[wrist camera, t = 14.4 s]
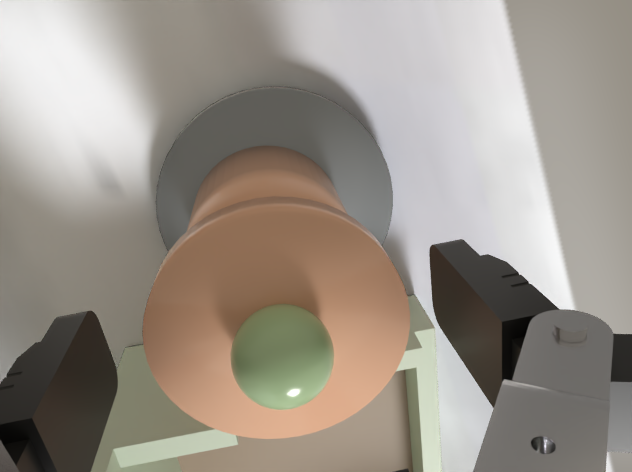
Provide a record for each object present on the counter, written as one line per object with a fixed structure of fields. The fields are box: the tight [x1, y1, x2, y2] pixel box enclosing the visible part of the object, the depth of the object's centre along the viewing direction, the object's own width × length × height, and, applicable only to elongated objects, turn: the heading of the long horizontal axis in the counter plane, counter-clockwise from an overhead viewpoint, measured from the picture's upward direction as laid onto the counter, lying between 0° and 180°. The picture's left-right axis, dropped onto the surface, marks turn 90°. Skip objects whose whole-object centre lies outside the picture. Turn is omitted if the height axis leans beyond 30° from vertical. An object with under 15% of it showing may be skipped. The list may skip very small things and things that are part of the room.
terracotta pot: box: [142, 146, 410, 439], centre depth 14 cm, size 6×6×9 cm
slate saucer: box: [156, 86, 393, 251], centre depth 19 cm, size 8×8×1 cm
